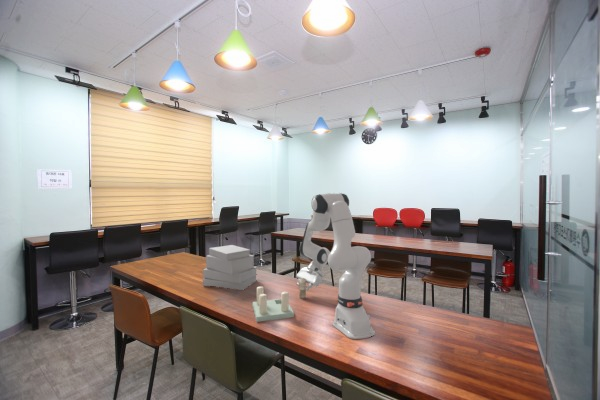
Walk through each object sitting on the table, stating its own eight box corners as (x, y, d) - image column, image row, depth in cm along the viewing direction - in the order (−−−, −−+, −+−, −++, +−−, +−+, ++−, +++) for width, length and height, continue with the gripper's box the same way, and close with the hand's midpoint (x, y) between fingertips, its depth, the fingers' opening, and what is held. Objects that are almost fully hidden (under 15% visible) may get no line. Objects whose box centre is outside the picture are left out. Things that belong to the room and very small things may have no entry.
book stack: (242, 292, 178) (242, 254, 177) (197, 287, 187) (197, 251, 187) (260, 279, 207) (260, 246, 206) (221, 275, 216) (221, 243, 216)
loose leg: (306, 298, 168) (306, 279, 168) (300, 299, 167) (300, 280, 166) (304, 296, 172) (304, 277, 171) (298, 297, 171) (298, 278, 170)
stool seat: (293, 317, 143) (293, 295, 143) (256, 321, 137) (256, 299, 137) (285, 302, 162) (285, 282, 162) (252, 306, 157) (252, 286, 156)
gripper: (301, 263, 181) (289, 280, 176) (321, 270, 165) (308, 289, 159) (306, 268, 184) (295, 285, 179) (326, 276, 167) (314, 295, 162)
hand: (301, 287), depth 169 cm, fingers open, 8 cm apart
